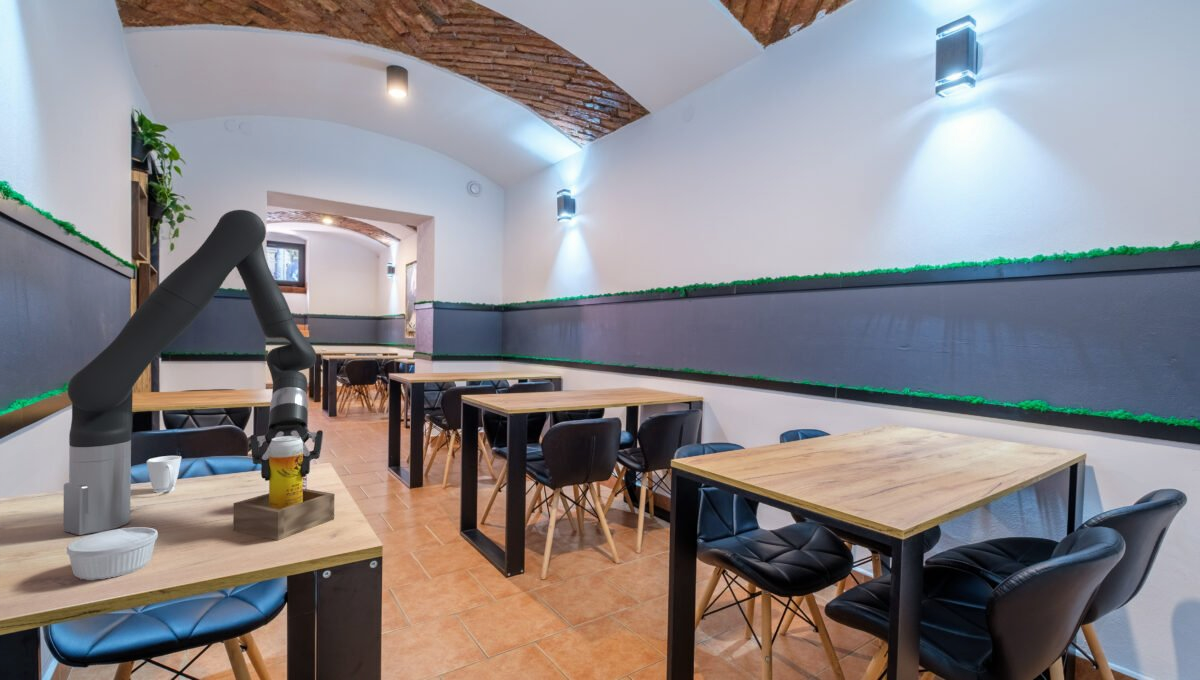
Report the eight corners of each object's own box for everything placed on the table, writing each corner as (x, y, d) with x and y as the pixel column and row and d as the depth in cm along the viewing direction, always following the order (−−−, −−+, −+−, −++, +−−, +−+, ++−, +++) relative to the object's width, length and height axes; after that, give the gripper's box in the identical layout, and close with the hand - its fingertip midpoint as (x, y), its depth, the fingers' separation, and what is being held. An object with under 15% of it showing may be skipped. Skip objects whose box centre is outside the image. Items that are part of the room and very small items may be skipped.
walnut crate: (277, 540, 102) (278, 511, 102) (233, 530, 107) (233, 503, 107) (334, 519, 114) (334, 493, 114) (291, 510, 119) (292, 486, 119)
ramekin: (173, 555, 95) (173, 526, 95) (119, 584, 84) (119, 551, 84) (109, 555, 95) (110, 526, 95) (46, 584, 84) (46, 551, 84)
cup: (177, 484, 138) (177, 454, 138) (189, 492, 132) (189, 460, 132) (142, 490, 133) (142, 459, 133) (153, 498, 127) (153, 465, 127)
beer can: (291, 514, 108) (292, 441, 108) (262, 513, 108) (262, 441, 108) (308, 504, 114) (308, 435, 114) (280, 504, 114) (281, 435, 114)
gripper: (249, 403, 114) (242, 471, 104) (324, 400, 121) (324, 463, 110) (252, 424, 119) (245, 490, 108) (324, 419, 125) (324, 482, 115)
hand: (285, 476), depth 109 cm, fingers closed on beer can, 6 cm apart
